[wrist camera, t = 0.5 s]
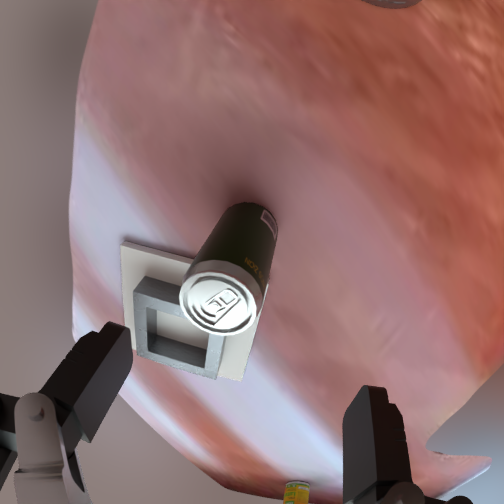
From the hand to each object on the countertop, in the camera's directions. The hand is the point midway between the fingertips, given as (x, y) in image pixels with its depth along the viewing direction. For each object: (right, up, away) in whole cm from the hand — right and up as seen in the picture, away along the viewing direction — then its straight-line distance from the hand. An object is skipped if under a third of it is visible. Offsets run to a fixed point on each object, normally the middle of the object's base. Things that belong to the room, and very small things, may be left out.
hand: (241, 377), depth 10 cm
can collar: (-7, -3, +27) cm, 28 cm away
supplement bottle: (+11, -48, +48) cm, 69 cm away
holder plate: (-7, -3, +27) cm, 28 cm away
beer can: (0, +7, +20) cm, 21 cm away
